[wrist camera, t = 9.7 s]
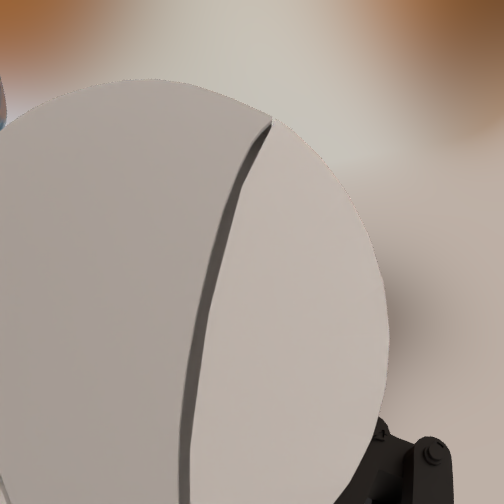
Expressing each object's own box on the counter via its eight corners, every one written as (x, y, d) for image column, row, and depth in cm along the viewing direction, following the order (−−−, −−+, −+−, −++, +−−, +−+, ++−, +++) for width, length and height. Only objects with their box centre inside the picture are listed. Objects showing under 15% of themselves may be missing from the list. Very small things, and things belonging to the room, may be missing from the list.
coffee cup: (281, 419, 16) (436, 566, 2) (136, 428, 15) (-70, 525, 1) (263, 275, 19) (335, 42, 5) (125, 287, 18) (-53, 116, 4)
